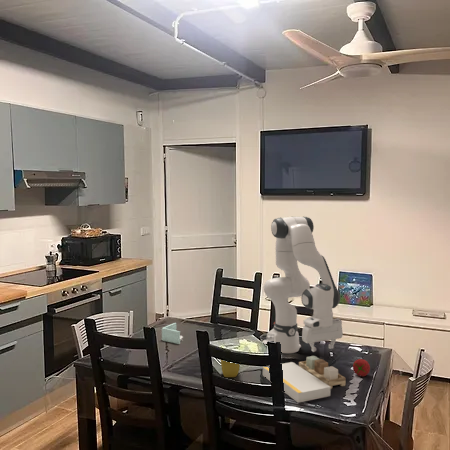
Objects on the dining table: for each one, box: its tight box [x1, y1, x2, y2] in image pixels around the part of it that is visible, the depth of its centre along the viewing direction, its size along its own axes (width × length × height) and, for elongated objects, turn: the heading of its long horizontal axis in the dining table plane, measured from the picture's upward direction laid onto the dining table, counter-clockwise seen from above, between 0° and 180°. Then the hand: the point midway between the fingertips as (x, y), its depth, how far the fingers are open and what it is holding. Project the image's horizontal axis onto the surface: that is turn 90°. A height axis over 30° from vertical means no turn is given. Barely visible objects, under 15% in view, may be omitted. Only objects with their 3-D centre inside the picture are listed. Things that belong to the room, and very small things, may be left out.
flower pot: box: [220, 359, 241, 378], centre depth 228 cm, size 9×9×9 cm
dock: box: [262, 361, 332, 404], centre depth 218 cm, size 30×16×4 cm, turn 24°
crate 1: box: [305, 355, 321, 369], centre depth 233 cm, size 4×4×4 cm
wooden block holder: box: [298, 358, 347, 389], centre depth 227 cm, size 24×9×8 cm, turn 24°
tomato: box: [352, 358, 371, 378], centre depth 229 cm, size 8×8×8 cm
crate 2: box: [324, 365, 339, 380], centre depth 220 cm, size 4×4×4 cm
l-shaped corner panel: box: [161, 322, 184, 345], centre depth 277 cm, size 12×12×8 cm
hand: (322, 349), depth 226 cm, fingers open, 8 cm apart
